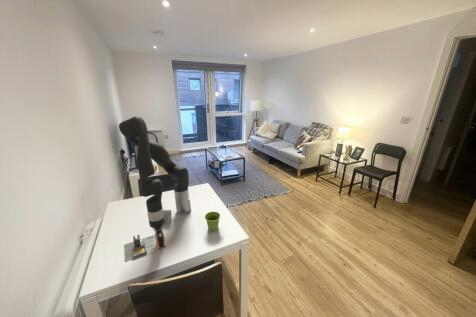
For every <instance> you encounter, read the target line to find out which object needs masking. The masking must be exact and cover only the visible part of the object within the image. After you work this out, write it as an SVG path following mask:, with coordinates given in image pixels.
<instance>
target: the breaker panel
mask: <svg viewBox="0 0 476 317" xmlns="http://www.w3.org/2000/svg"><path fill="white" fill-rule="evenodd" d="M140 241H141V245H140V246H137V247H135V246H134V241H131V242H129V243H126V244H124V245H123V247H124V248H123V250H124V262H125V263H127V262H130V261H131V260H135V259H138V258H141V257H143V256H146V255H148V254H151V253H155V252H157V251H159V250H162V249H164V248H167V247H168V245H167V242H166V240H165V244H166V245H165V246H163V247H159V248H158V247H157V242H156V237H155V234H152V235H150V236H146V237H144V238H140Z"/></svg>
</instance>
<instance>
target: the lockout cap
mask: <svg viewBox="0 0 476 317" xmlns="http://www.w3.org/2000/svg"><path fill="white" fill-rule="evenodd" d="M154 235H155V237H156V233H155V232H154ZM163 239H164V242H163V243H164V246H165V245H166V244H167V243H166V244H165V241H166V239H165V234H164V232H163ZM156 242H157V247H158V248H159V243H158V238H157V237H156Z"/></svg>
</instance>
